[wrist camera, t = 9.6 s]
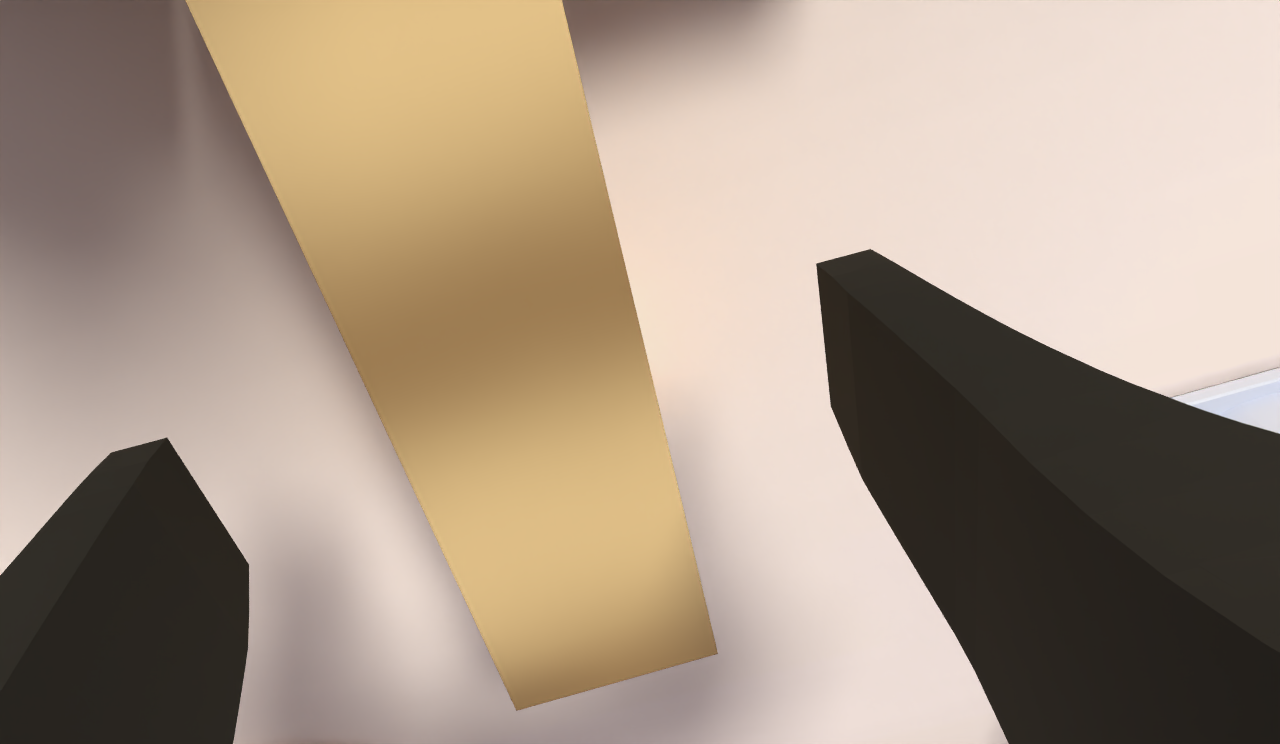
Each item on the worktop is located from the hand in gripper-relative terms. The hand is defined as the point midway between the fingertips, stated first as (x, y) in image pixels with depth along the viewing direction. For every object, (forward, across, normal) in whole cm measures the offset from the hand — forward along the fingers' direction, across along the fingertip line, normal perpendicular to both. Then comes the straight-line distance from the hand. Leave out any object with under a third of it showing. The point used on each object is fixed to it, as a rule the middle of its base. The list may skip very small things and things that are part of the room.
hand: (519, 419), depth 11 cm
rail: (+8, 0, 0) cm, 8 cm away
